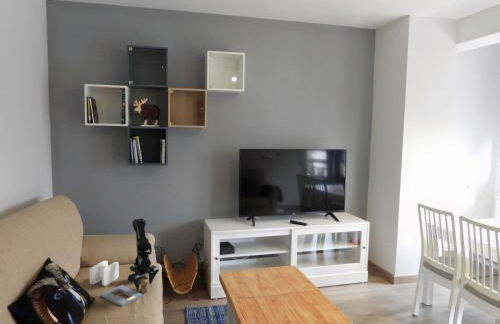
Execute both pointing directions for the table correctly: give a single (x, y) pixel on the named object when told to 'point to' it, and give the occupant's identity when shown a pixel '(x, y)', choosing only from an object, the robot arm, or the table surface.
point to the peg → (144, 284)
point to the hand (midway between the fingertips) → (144, 287)
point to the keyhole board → (118, 299)
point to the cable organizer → (104, 273)
